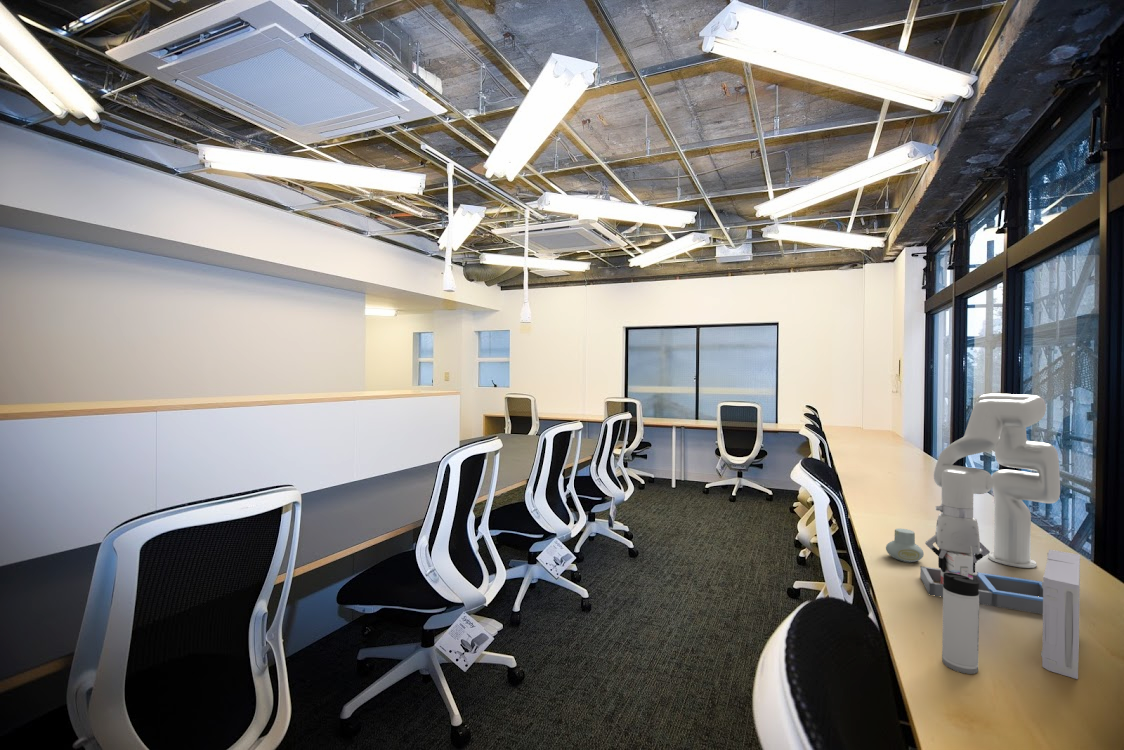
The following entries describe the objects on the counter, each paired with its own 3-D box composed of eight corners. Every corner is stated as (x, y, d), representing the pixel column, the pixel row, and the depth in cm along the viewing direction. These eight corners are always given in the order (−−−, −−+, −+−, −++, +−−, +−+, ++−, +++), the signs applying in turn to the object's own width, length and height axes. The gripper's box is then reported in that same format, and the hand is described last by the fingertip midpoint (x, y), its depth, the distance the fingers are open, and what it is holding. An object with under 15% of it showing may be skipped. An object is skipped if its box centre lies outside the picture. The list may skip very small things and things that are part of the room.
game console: (1040, 668, 112) (1041, 577, 112) (1046, 627, 131) (1047, 549, 131) (1078, 680, 108) (1079, 585, 108) (1079, 635, 127) (1080, 554, 127)
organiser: (920, 576, 164) (920, 563, 164) (1043, 595, 150) (1043, 581, 150) (929, 595, 150) (929, 581, 150) (1066, 618, 136) (1066, 602, 136)
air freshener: (918, 557, 182) (918, 528, 182) (927, 565, 174) (927, 535, 174) (882, 553, 185) (883, 525, 185) (890, 561, 177) (890, 532, 177)
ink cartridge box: (939, 584, 158) (939, 536, 158) (957, 585, 157) (958, 537, 157) (954, 596, 149) (954, 545, 149) (974, 597, 148) (974, 546, 148)
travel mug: (933, 659, 116) (934, 570, 116) (960, 658, 116) (962, 569, 116) (957, 675, 109) (958, 581, 109) (986, 674, 110) (987, 580, 110)
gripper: (924, 511, 154) (923, 571, 154) (997, 519, 146) (997, 582, 146) (919, 505, 160) (919, 563, 160) (990, 512, 153) (989, 573, 153)
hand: (956, 572), depth 153 cm, fingers closed on ink cartridge box, 5 cm apart
